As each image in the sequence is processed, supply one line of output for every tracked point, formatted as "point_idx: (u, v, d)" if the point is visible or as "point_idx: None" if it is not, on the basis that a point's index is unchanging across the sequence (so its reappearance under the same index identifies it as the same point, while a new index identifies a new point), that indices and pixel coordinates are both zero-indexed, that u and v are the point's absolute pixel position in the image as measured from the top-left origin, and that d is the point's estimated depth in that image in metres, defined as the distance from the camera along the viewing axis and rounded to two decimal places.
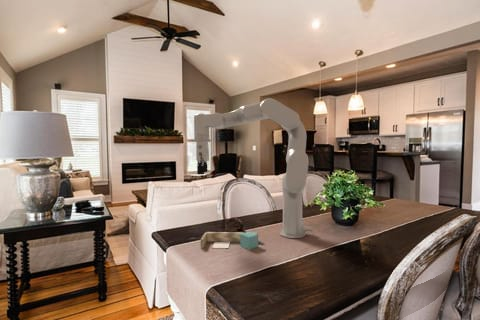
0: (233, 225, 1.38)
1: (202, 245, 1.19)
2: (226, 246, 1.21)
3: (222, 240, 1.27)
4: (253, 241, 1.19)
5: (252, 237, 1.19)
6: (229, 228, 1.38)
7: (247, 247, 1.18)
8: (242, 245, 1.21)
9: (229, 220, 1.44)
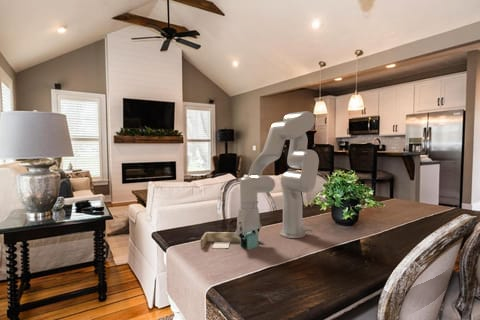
0: (236, 225, 1.37)
1: (202, 245, 1.19)
2: (226, 246, 1.21)
3: (222, 240, 1.27)
4: (253, 241, 1.19)
5: (252, 237, 1.19)
6: (232, 228, 1.37)
7: (247, 247, 1.18)
8: None
9: (231, 220, 1.43)
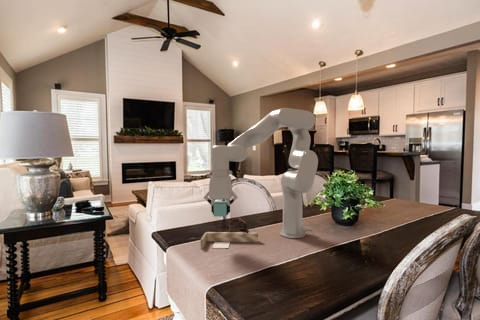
0: (237, 226, 1.37)
1: (202, 245, 1.19)
2: (226, 246, 1.21)
3: (222, 240, 1.27)
4: (219, 209, 1.19)
5: (218, 205, 1.19)
6: (233, 229, 1.37)
7: (214, 214, 1.20)
8: None
9: (233, 221, 1.43)
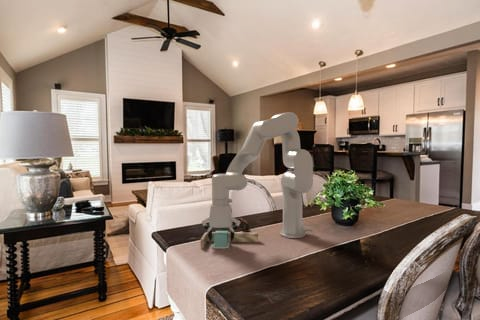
0: (239, 226, 1.36)
1: (202, 245, 1.19)
2: None
3: None
4: (220, 240, 1.20)
5: (219, 236, 1.20)
6: None
7: None
8: None
9: None
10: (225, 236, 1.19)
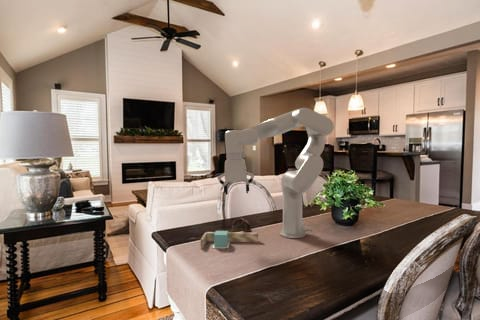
0: (241, 226, 1.36)
1: (202, 245, 1.19)
2: None
3: None
4: (220, 240, 1.20)
5: (219, 236, 1.20)
6: (236, 229, 1.36)
7: None
8: None
9: (236, 221, 1.42)
10: (225, 236, 1.19)
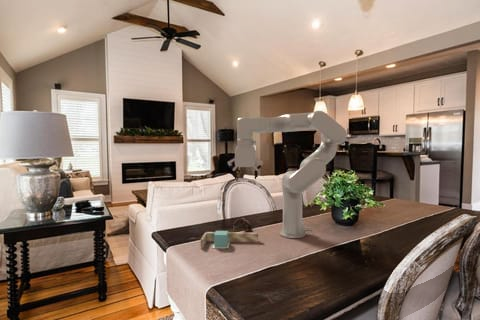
0: (242, 226, 1.36)
1: (202, 245, 1.19)
2: None
3: None
4: (220, 240, 1.20)
5: (219, 236, 1.20)
6: (238, 229, 1.36)
7: None
8: None
9: (237, 221, 1.41)
10: (225, 236, 1.19)
